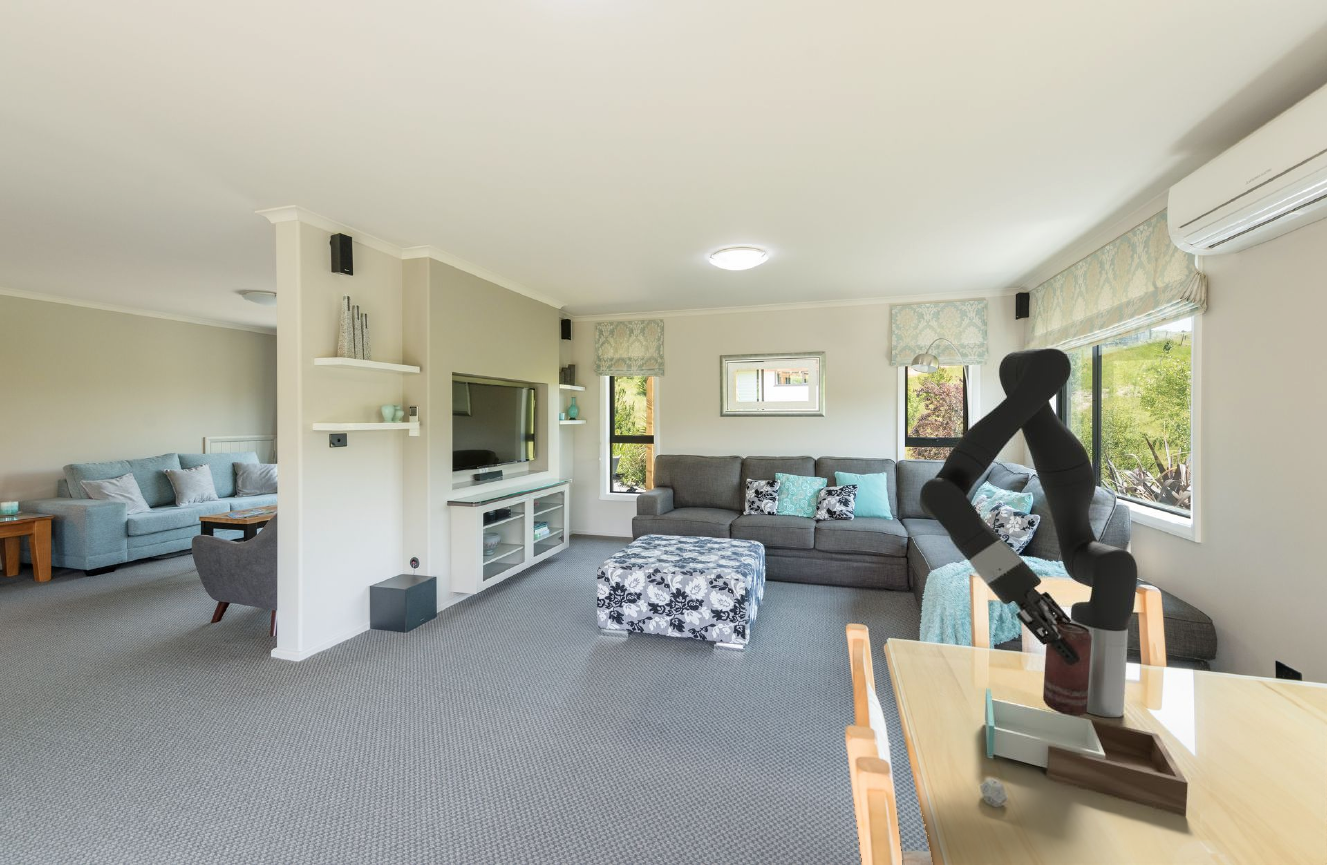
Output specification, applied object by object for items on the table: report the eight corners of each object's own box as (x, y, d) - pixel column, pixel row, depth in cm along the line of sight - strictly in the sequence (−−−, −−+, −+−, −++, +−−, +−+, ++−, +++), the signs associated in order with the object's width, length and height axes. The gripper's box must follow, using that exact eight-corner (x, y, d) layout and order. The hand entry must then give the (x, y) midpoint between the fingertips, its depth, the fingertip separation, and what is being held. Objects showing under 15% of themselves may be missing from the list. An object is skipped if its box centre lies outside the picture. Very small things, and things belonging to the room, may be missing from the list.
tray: (984, 716, 109) (986, 688, 109) (1087, 740, 102) (1089, 710, 101) (987, 756, 96) (988, 725, 96) (1106, 787, 89) (1107, 753, 88)
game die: (976, 802, 86) (977, 782, 86) (984, 791, 89) (984, 772, 89) (1003, 814, 84) (1004, 794, 84) (1009, 802, 86) (1010, 782, 86)
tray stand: (1037, 734, 105) (1038, 707, 105) (1156, 762, 97) (1157, 733, 97) (1047, 779, 92) (1049, 748, 92) (1185, 815, 84) (1187, 782, 84)
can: (1032, 698, 100) (1037, 619, 99) (1067, 697, 100) (1071, 619, 100) (1060, 717, 94) (1065, 633, 93) (1096, 716, 94) (1101, 633, 94)
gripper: (1010, 566, 96) (1093, 658, 88) (1031, 553, 107) (1107, 635, 99) (974, 589, 100) (1050, 680, 92) (997, 575, 110) (1068, 655, 103)
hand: (1079, 656), depth 96 cm, fingers closed on can, 6 cm apart
